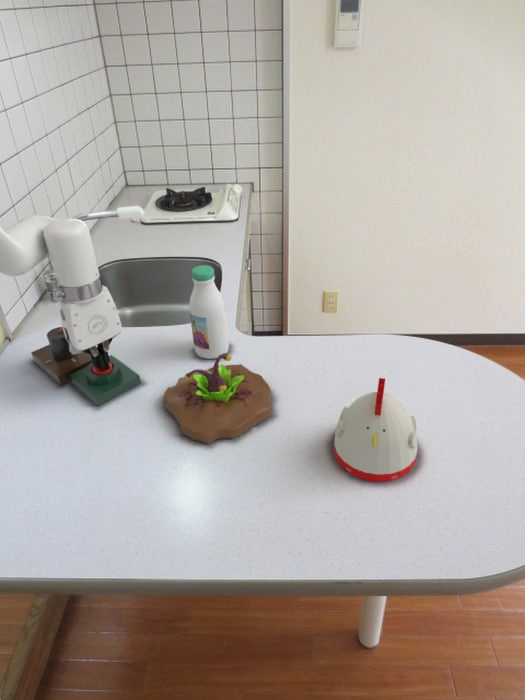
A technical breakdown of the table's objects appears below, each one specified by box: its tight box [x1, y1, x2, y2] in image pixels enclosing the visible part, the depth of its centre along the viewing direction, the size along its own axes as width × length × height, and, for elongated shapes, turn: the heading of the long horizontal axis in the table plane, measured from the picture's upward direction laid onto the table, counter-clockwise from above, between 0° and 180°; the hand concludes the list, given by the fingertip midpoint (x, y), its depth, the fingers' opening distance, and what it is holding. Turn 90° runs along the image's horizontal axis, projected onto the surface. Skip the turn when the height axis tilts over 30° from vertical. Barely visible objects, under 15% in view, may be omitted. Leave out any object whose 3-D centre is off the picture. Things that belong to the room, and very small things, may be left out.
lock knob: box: [46, 326, 76, 360], centre depth 114 cm, size 5×5×6 cm
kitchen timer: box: [333, 377, 419, 483], centre depth 86 cm, size 14×14×15 cm
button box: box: [70, 354, 142, 407], centre depth 109 cm, size 11×10×4 cm
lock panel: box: [30, 343, 92, 386], centre depth 116 cm, size 13×10×3 cm
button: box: [92, 363, 113, 375], centre depth 108 cm, size 4×4×2 cm
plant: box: [163, 352, 272, 445], centre depth 99 cm, size 20×20×11 cm
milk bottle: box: [188, 264, 230, 360], centre depth 113 cm, size 8×8×20 cm
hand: (102, 367), depth 107 cm, fingers closed
